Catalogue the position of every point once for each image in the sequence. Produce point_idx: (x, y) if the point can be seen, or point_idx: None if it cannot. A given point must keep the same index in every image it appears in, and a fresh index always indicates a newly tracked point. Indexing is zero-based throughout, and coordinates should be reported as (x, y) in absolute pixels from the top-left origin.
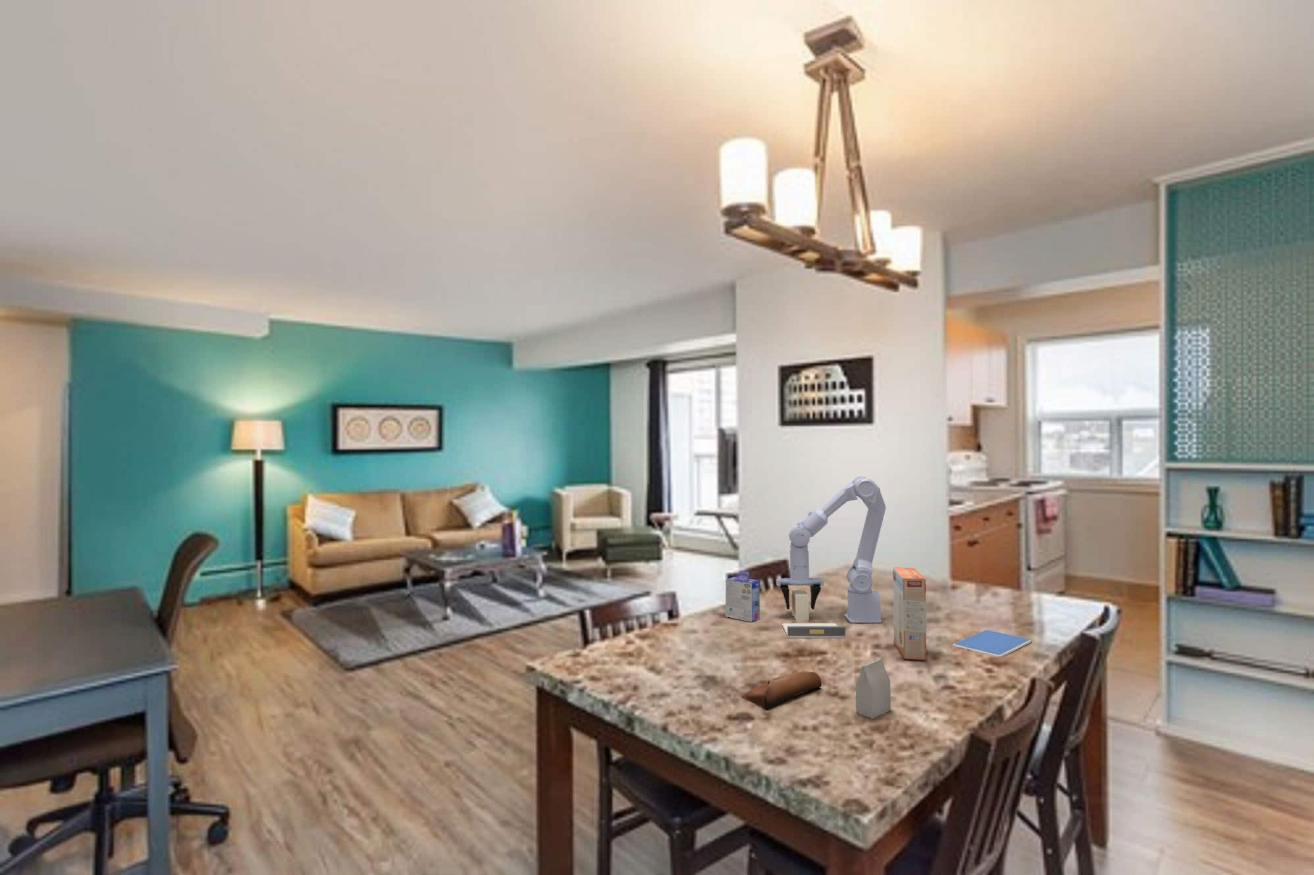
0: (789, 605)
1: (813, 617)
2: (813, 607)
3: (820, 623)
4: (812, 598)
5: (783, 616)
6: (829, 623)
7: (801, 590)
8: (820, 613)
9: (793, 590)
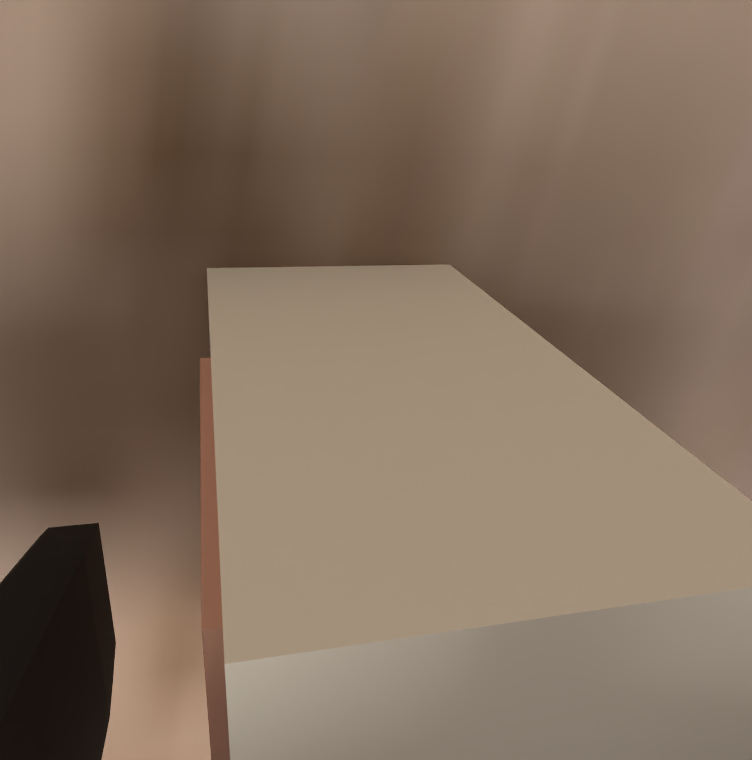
0: (101, 737)
1: None
2: None
3: None
4: None
5: (12, 389)
6: None
7: (678, 681)
8: (735, 183)
9: (304, 738)
